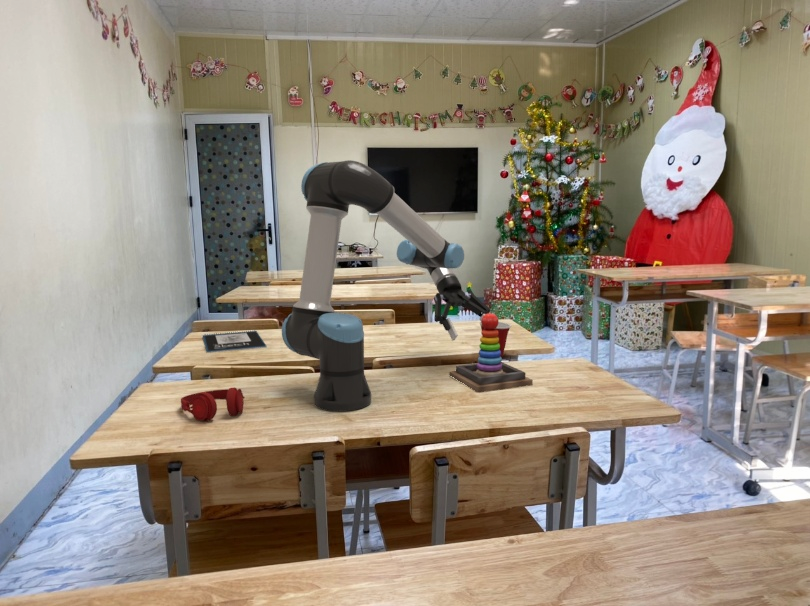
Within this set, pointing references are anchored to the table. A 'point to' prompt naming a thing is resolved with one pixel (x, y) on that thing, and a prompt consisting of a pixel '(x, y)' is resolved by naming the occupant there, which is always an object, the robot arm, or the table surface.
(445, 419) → the table surface
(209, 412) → the headphones
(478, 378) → the board
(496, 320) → the stacking toy
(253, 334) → the sketchbook
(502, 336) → the plastic cup
